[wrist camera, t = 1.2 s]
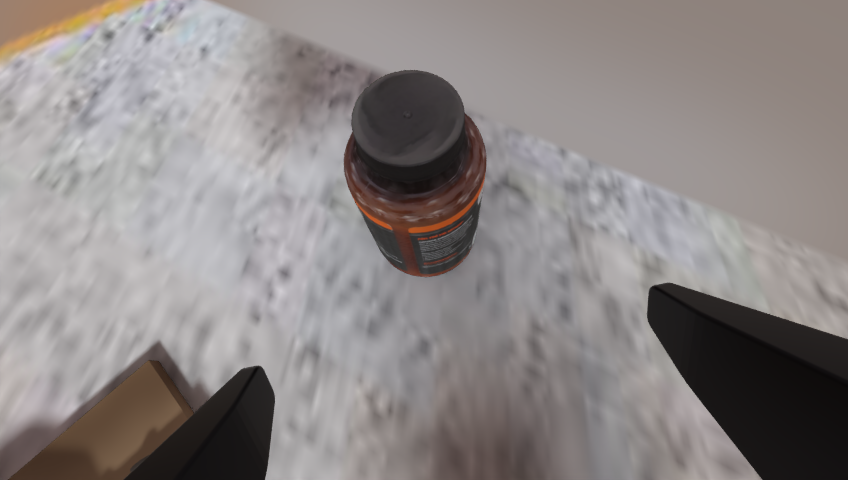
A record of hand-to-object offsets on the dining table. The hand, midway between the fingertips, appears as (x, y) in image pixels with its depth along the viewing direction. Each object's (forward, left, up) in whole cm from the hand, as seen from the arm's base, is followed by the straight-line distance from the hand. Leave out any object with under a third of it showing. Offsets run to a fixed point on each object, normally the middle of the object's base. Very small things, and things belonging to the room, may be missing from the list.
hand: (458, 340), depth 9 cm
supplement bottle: (+7, -4, -14) cm, 16 cm away
